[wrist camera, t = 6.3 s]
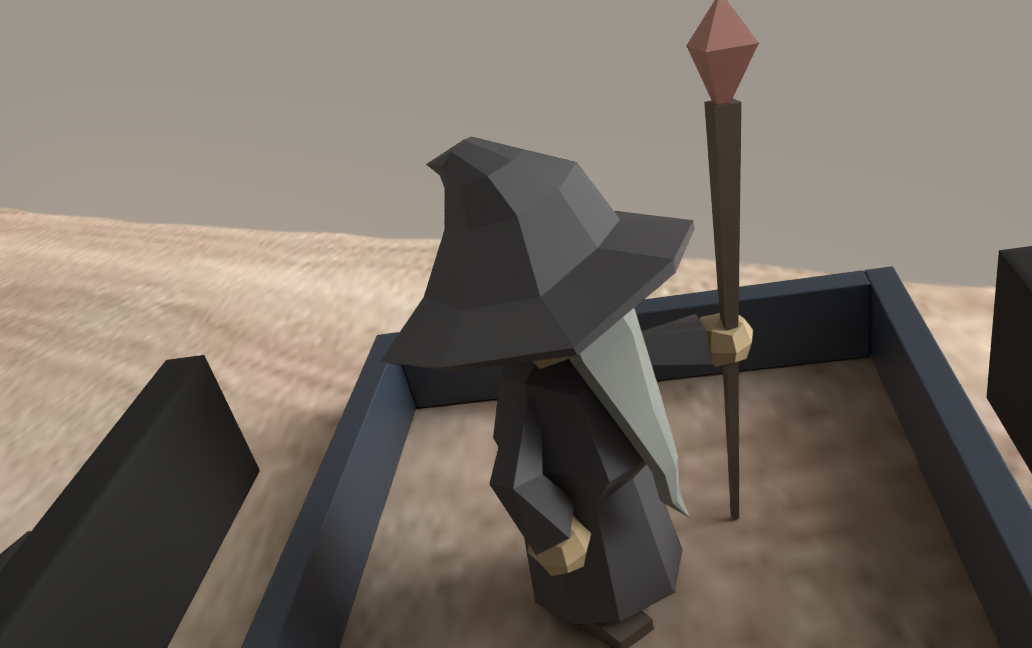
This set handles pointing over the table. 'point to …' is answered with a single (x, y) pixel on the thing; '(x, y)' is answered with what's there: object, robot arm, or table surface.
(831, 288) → the dark grey square frame
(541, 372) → the wizard figurine
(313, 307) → the table surface
